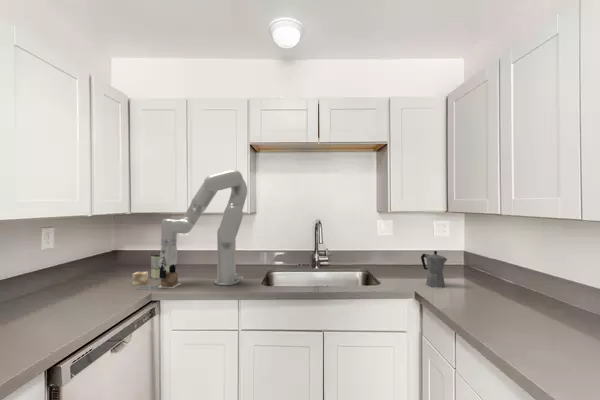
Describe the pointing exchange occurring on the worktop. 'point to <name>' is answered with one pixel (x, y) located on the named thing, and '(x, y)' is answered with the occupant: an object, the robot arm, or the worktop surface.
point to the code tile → (171, 287)
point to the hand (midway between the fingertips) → (167, 275)
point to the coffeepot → (434, 269)
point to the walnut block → (170, 279)
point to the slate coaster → (147, 287)
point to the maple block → (140, 278)
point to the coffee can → (156, 265)
